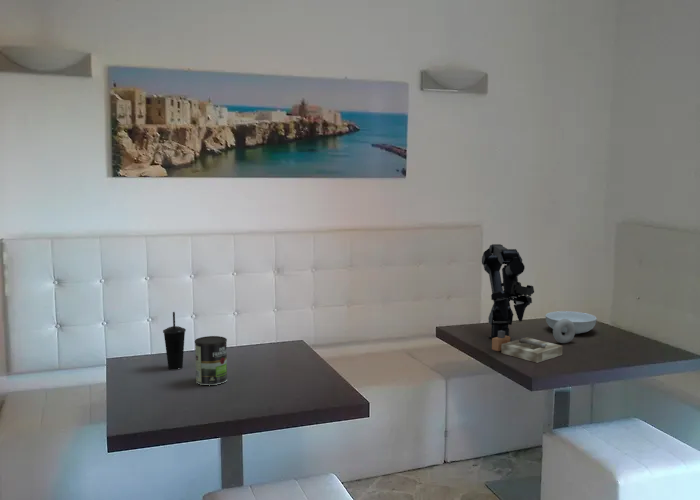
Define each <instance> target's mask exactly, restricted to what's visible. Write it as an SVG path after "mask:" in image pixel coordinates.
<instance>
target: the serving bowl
mask: <svg viewBox="0 0 700 500" xmlns="http://www.w3.org/2000/svg"><path fill="white" fill-rule="evenodd" d="M544 316H545V322H546V324H547V326H548V327H550V328H551V329H552V330H553V328H554V325H555V324H556V323H557V322H558V321H559V320H561V319H568V320H570V321H572V322H573V324H574V326H575V330H576V331H575V335H579V334H584V333H587V332H589V331H591V330H593V329H594V328H595V326H596V324H597V320H598V319H597V317H596V315H594V314H591V313H585V312H581V311H573V310H572V311H570V310H568V311H566V310H559V311H551V312H548V313H546V314H545V315H544ZM566 332H567V328H566V327H564V328H563V329H562V332H561V333H562V334H566Z"/></svg>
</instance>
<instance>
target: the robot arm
mask: <svg viewBox="0 0 700 500" xmlns="http://www.w3.org/2000/svg"><path fill="white" fill-rule="evenodd" d="M481 265H482V266H483V269H484V271H485V272H486V273H487V274H488V276H489V282H490V288H491V295H490V297H491V298H490V299H491V301H493V305H492V307H491V309H490V311H489V316H488V323H489V325H491V328H490V329H491V331H490V332H491V334H490V336H488V339H492V338H495V337H498V331H500V330H502V331H505V335H506V336H510V327H509V326H512V323H513V318H514V315H515V314H516V316H517V317H516V318H517V320H518V321H519V322H522V321H523V320H524V318H523V317H524V315H525V311H526V308H527V307H528V306H530V304H532V303H533V298H532V295H533V294H534V293H535V289H534V286H533V285H531V284H530V285H529V284H527V286H523V285H522V283H521V282H520V281H519V278H518V277H519V276H520V275H521V274H523V273H524V272H525V269H526V268H525V264H524V262H523V259H522V256H521V255H520V253H519V252H518V249H516V248H507V247H505V246H503V244H501V243H500V244H499V243H497V244H496V243H495V244H493V243H492V244H490V245H489V247H488V248H487V249H486V250H485V251H483V253H482V256H481ZM502 266H503V267H502ZM501 272H502V274H501ZM501 275H502V276H501ZM510 301H513V304H514V305H513V308H514V311H515V314H514V312H513V310H512V307H511V302H510Z"/></svg>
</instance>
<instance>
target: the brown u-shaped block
mask: <svg viewBox="0 0 700 500" xmlns="http://www.w3.org/2000/svg"><path fill="white" fill-rule="evenodd" d="M508 342H511V335H509V336H506V335H505V331H502V330H500V331H498V337H495V338H491V350H493V351H495V352H500V351H501V348H502V344H504V343H508Z"/></svg>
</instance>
